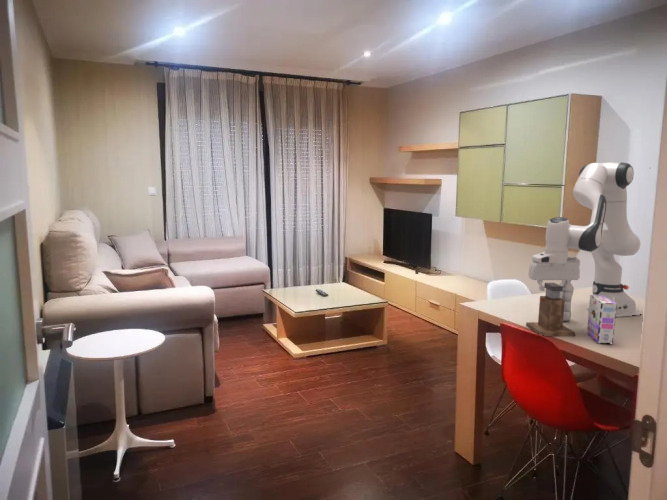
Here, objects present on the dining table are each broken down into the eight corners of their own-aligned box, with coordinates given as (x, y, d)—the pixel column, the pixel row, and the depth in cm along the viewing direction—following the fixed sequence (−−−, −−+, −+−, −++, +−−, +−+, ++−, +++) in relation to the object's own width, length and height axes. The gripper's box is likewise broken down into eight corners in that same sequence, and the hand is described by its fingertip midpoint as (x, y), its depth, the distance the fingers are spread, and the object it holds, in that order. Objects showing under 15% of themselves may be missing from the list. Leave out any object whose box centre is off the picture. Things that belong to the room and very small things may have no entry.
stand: (557, 325, 218) (560, 293, 216) (574, 335, 204) (577, 302, 202) (525, 325, 217) (528, 294, 215) (541, 336, 203) (543, 302, 201)
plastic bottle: (552, 318, 228) (555, 275, 225) (567, 318, 228) (571, 275, 225) (557, 322, 222) (561, 278, 219) (573, 322, 222) (577, 278, 219)
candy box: (613, 345, 194) (617, 303, 191) (597, 343, 195) (601, 302, 192) (601, 333, 207) (605, 294, 205) (586, 332, 208) (589, 294, 206)
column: (550, 324, 214) (554, 282, 211) (558, 329, 207) (562, 286, 204) (541, 324, 213) (544, 282, 211) (549, 329, 207) (552, 286, 204)
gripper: (576, 256, 209) (573, 288, 212) (528, 256, 208) (525, 288, 210) (584, 258, 203) (581, 292, 205) (535, 258, 202) (532, 292, 204)
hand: (552, 290), depth 208 cm, fingers open, 8 cm apart
